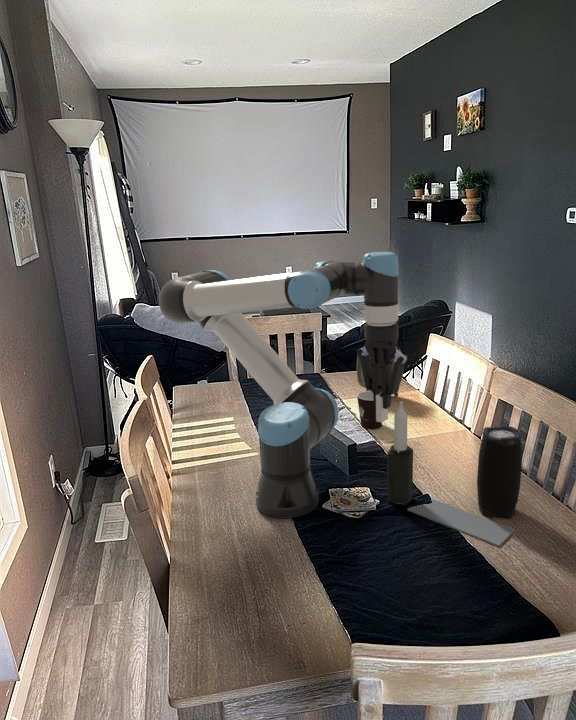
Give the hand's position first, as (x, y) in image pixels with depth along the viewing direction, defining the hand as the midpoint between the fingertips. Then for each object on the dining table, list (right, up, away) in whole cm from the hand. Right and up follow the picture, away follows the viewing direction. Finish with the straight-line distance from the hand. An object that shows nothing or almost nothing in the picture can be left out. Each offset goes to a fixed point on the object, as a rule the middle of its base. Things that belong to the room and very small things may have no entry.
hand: (382, 420), depth 138 cm
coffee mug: (+4, -6, +47) cm, 47 cm away
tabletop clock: (+10, +1, +69) cm, 70 cm away
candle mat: (+16, -21, -8) cm, 28 cm away
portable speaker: (+25, -20, -5) cm, 33 cm away
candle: (+5, -19, +2) cm, 20 cm away
